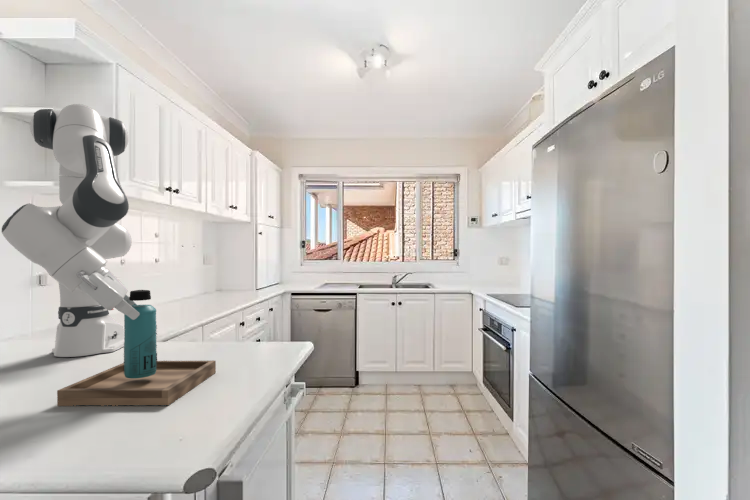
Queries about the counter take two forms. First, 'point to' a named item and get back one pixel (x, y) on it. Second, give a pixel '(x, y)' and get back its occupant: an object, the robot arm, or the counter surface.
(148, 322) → the beverage bottle
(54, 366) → the counter surface
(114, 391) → the walnut tray
